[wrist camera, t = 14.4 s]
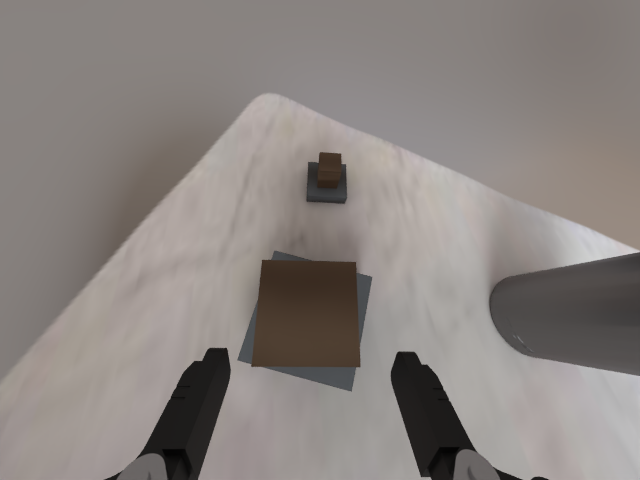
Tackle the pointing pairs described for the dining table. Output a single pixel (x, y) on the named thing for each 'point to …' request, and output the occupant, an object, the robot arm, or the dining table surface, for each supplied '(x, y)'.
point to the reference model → (327, 179)
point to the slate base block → (324, 375)
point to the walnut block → (307, 315)
